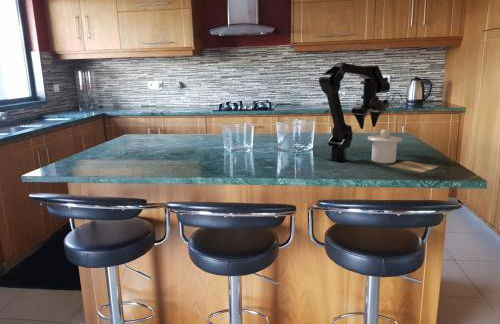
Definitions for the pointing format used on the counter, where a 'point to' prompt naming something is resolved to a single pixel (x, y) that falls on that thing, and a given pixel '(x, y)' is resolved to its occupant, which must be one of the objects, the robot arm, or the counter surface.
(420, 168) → the trivet
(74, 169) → the counter surface
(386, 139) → the lid
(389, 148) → the cup
